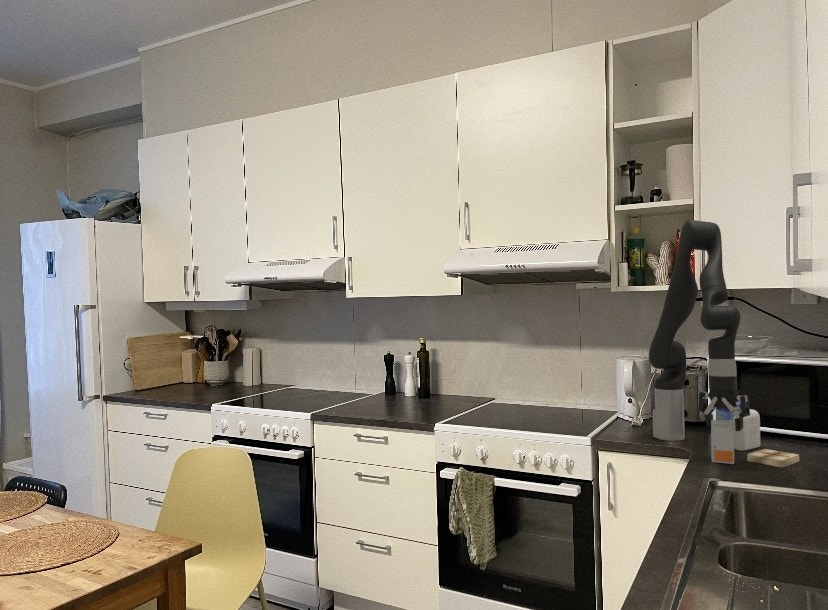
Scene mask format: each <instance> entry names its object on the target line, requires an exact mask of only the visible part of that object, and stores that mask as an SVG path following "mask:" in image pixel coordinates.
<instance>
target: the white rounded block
mask: <svg viewBox="0 0 828 610" xmlns="http://www.w3.org/2000/svg"><path fill="white" fill-rule="evenodd" d="M735 418H736V417H735V415H734V417H733V422H734V450H736V451H741V452H742V451H748V450H752V449H756V448H757V449H758V448H760V447H761V417H760V413H759V412H758V411H757V410H755V409H751V408H750V416H746V417H744V418H743V429H742V430H741V431H736V430H735Z"/></svg>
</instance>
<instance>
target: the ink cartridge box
mask: <svg viewBox="0 0 828 610" xmlns="http://www.w3.org/2000/svg"><path fill="white" fill-rule="evenodd" d="M736 403H737V405H738V406H739V407H740V410H741V404H740V402H739V401H738V400H737V401H736ZM733 417H734V414H733V413H732V412H731V411H730V410H729V409H723V408H716V409H715V420H728V421H733Z"/></svg>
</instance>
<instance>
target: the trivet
mask: <svg viewBox="0 0 828 610" xmlns="http://www.w3.org/2000/svg"><path fill="white" fill-rule="evenodd" d="M746 461H747V462H749V463H750V462H752V463H757V464H761V465H762V464H763V465H767V466H772V467H778V468H786V467H788V466H791V465H794V464H797V463H800V454H797V453H792V452H785V451H781V450H773V449H768V448H763V449H759V450H755V451H753V452H749V453H747V455H746Z"/></svg>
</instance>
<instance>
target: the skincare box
mask: <svg viewBox="0 0 828 610" xmlns="http://www.w3.org/2000/svg"><path fill="white" fill-rule="evenodd" d="M710 445H711V446H710V449H711V451H710V452H711V453H710V454H711V456H710V457H711V462H712V463H716V464H718V463H719V464H720V463H721V464H730V465H734V464H735V448H734V422H733V421H728V420H716V419H713V420H711V427H710Z"/></svg>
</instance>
